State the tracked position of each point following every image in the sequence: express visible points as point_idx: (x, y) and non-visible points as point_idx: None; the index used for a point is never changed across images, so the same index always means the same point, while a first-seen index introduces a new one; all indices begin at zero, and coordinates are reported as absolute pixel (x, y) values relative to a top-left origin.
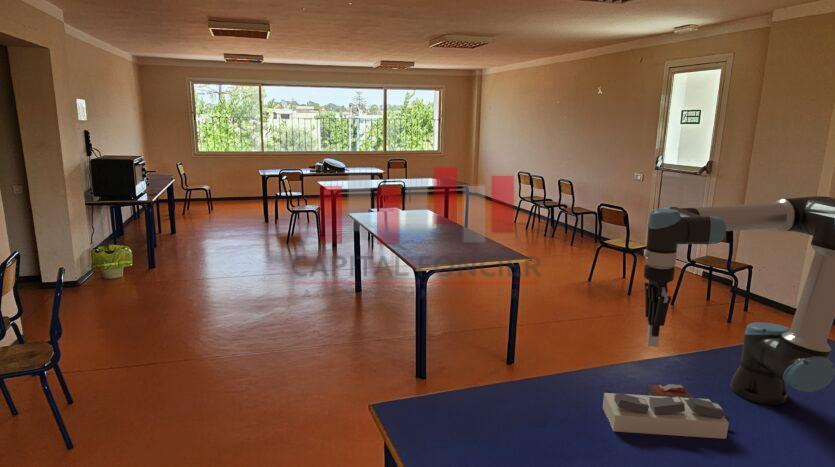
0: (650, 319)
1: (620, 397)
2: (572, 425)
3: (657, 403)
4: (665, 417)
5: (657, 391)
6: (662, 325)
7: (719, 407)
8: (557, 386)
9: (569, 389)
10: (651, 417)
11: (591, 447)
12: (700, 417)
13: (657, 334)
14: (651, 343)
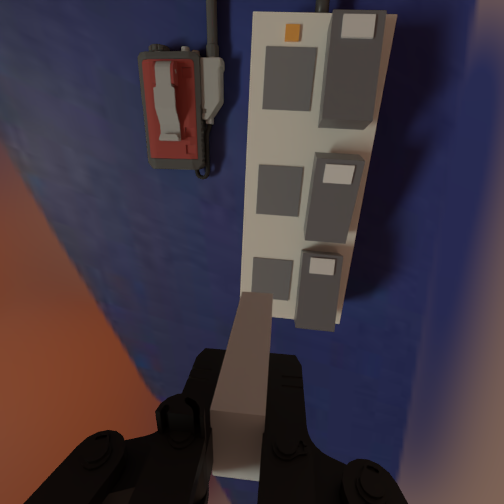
0: (204, 501)
1: (321, 327)
2: (310, 365)
3: (331, 229)
4: (355, 210)
5: (186, 153)
6: (385, 483)
7: (367, 21)
8: (168, 351)
9: (176, 333)
10: (353, 246)
11: (381, 356)
12: None
13: (301, 377)
14: (270, 337)
